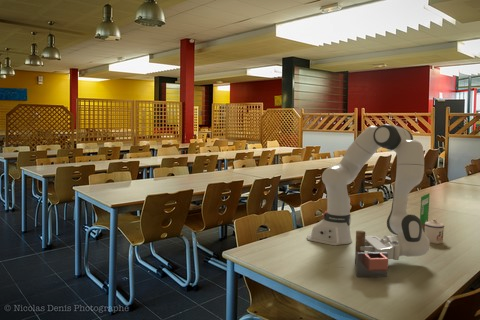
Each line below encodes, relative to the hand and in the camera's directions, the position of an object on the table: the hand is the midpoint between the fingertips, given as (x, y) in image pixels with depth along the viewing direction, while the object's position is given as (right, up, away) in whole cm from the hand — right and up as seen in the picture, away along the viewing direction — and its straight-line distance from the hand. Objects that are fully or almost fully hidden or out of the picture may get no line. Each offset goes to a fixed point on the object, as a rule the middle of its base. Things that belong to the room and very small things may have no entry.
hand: (358, 246), depth 168 cm
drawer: (+1, -9, -16) cm, 19 cm away
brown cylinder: (+1, -8, +1) cm, 8 cm away
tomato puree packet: (+53, -3, +54) cm, 76 cm away
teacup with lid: (+49, -5, +34) cm, 60 cm away
